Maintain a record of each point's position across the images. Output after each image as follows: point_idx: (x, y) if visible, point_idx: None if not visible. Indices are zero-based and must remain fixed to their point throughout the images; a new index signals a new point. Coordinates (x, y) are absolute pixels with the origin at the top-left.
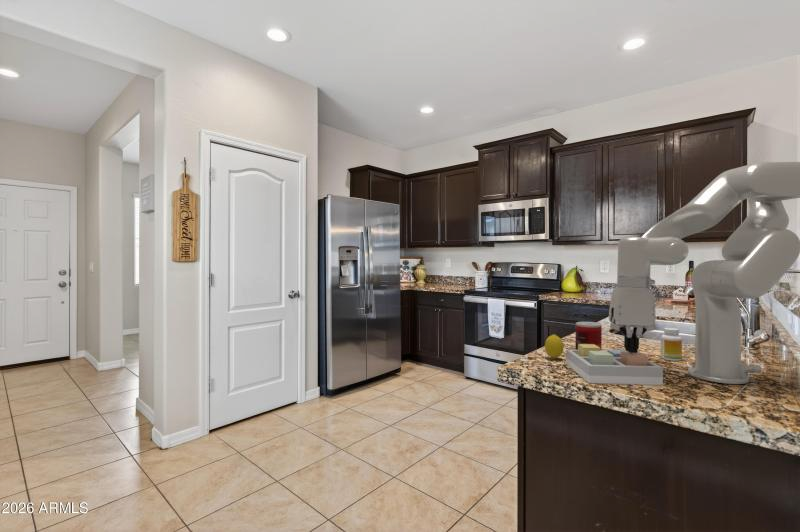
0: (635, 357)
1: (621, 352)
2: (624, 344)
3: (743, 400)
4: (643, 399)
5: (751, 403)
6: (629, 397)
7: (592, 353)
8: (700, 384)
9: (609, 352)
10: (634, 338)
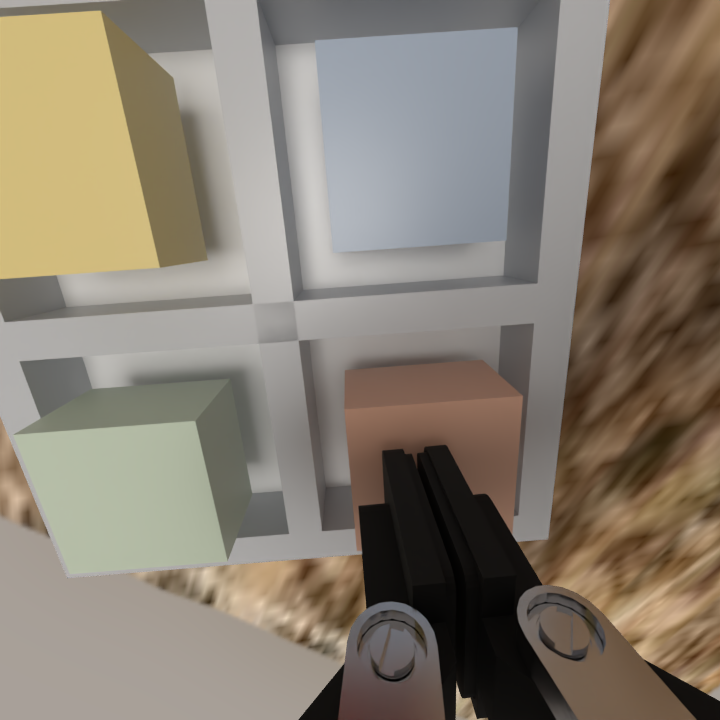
0: None
1: (346, 422)
2: (361, 529)
3: (699, 591)
4: (321, 639)
5: (699, 613)
6: (274, 630)
7: (51, 519)
8: (703, 425)
9: (321, 117)
10: (466, 695)
